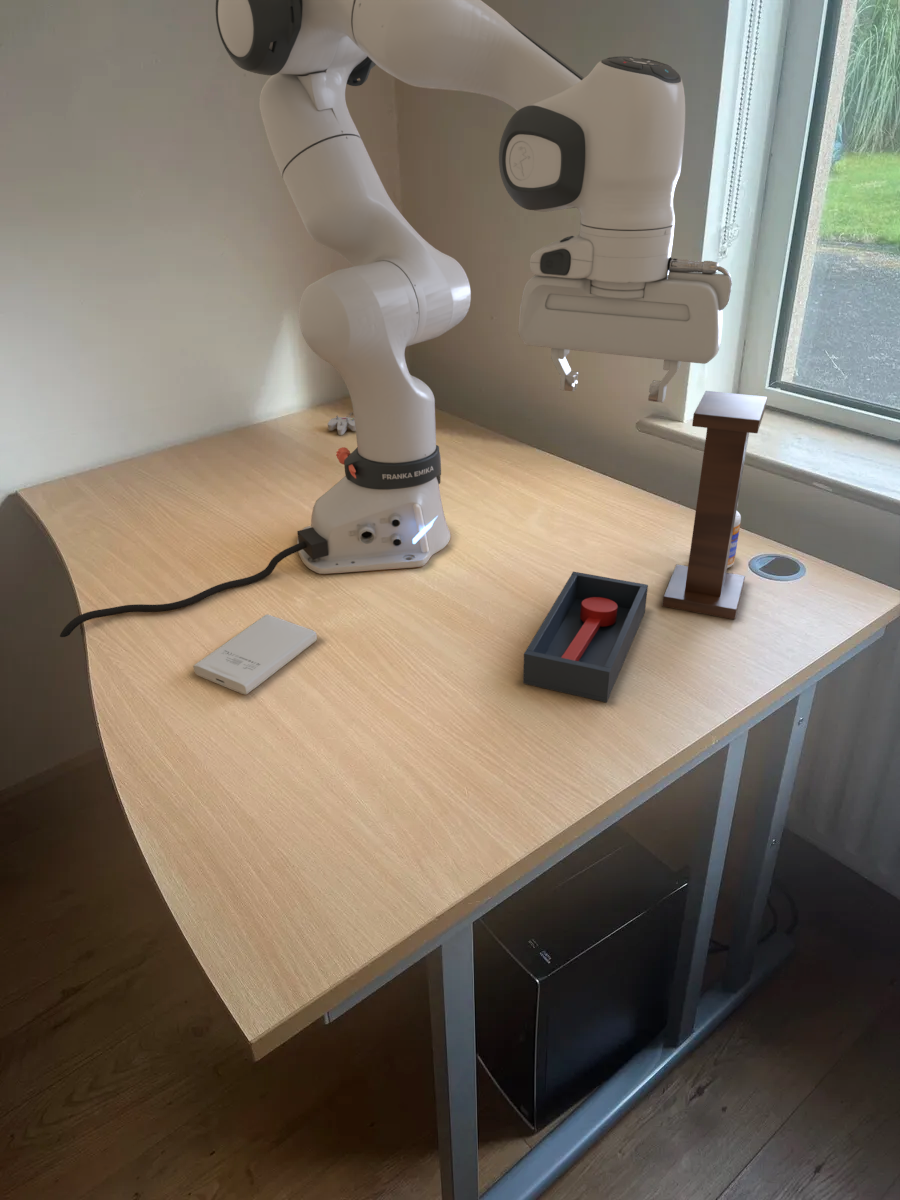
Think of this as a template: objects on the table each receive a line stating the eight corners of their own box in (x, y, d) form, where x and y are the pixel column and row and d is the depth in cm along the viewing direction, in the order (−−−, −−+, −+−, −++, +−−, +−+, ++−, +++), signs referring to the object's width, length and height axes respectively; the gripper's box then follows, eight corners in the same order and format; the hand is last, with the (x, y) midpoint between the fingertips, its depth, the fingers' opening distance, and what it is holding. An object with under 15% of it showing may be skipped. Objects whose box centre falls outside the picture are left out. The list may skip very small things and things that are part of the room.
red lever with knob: (585, 673, 94) (587, 656, 93) (546, 664, 95) (547, 648, 95) (619, 615, 107) (621, 600, 107) (585, 608, 109) (586, 594, 108)
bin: (606, 702, 94) (609, 672, 92) (523, 683, 97) (523, 653, 95) (644, 612, 109) (648, 584, 107) (571, 598, 112) (573, 571, 110)
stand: (733, 623, 106) (769, 421, 93) (660, 610, 109) (684, 412, 96) (743, 585, 114) (777, 393, 101) (674, 573, 117) (699, 385, 104)
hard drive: (317, 642, 105) (247, 696, 96) (267, 624, 109) (194, 674, 100) (316, 631, 104) (244, 684, 95) (265, 613, 108) (192, 663, 99)
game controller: (329, 436, 165) (328, 423, 163) (324, 417, 175) (323, 404, 173) (359, 433, 166) (358, 420, 164) (352, 414, 175) (351, 402, 174)
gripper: (739, 256, 82) (717, 397, 89) (535, 243, 89) (530, 375, 96) (730, 269, 77) (707, 417, 85) (514, 254, 84) (511, 392, 92)
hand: (611, 394), depth 91 cm, fingers open, 8 cm apart
